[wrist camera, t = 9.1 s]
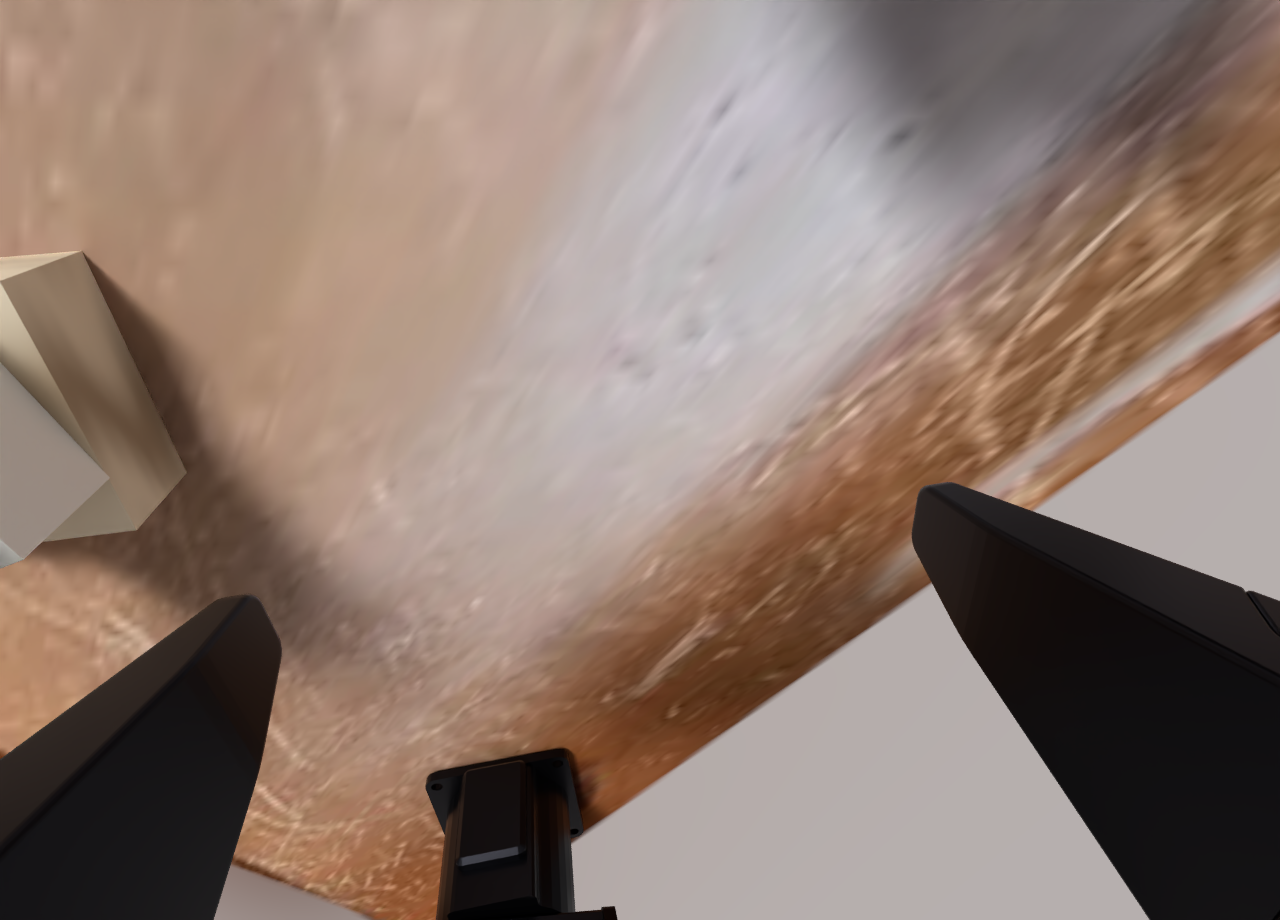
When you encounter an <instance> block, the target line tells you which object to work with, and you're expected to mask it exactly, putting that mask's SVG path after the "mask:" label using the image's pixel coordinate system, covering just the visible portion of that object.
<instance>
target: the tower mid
mask: <svg viewBox="0 0 1280 920" xmlns="http://www.w3.org/2000/svg"><path fill="white" fill-rule="evenodd" d="M109 478H110V477H109V476H108V475H107V474H106V473H105V472H104V471H103V470H102V469H101V468H100V467H99V466H98V465H97V464H96V463H95V462H94V460H93V459H92V458H91V457H90V456H89V455H88V454H87V453H86V452H85V451H84V450H83V449H82V448H81V447H80V446H79V445H78V444H77V443H76V441H75V440H74V439H73V438H72V437H71V436H70V435H69V434H68V433H67V432H66V431H65V430H64V429H63V428H62V427H61V426H60V425H59V424H58V423H57V421H56V420H55V419H54V418H53V417H52V416H51V415H50V414H49V413H48V412H47V411H46V410H45V409H44V408H43V407H42V406H41V405H40V404H39V402H38V401H37V400H36V399H35V398H34V397H33V396H32V395H31V394H30V393H29V392H28V391H27V390H26V389H25V388H24V387H23V386H22V385H21V384H20V382H19V381H18V380H17V379H16V378H15V377H14V376H13V375H12V374H11V373H10V372H9V371H8V370H7V369H6V368H5V367H4V366H3V365H2V363H1V362H0V568H3V567H6V566H8V565H11V564H13V563H16V562H19V561H21V560H24V559H25V558H26V557H27V556H28V555H29V554H30V553H31V552H32V551H33V550H34V549H35V548H36V547H37V546H38V545H39V544H41V543H42V542H43V541H44V540H45V539H46V538H47V537H48V536H49V535H50V534H51V533H52V532H53V531H54V530H55V529H56V528H57V527H59V526H60V525H61V524H62V523H63V522H64V521H65V520H66V519H67V518H68V517H69V516H70V515H71V514H72V513H73V512H74V511H76V510H77V509H78V508H79V507H80V506H81V505H82V504H83V503H84V502H85V501H86V500H87V499H88V498H89V497H90V496H91V495H92V494H94V493H95V492H96V491H97V490H98V489H99V488H100V487H101V486H102V485H103V484H104V483H105V482H106V481H107V480H108V479H109Z"/></svg>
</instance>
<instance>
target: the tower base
mask: <svg viewBox="0 0 1280 920" xmlns="http://www.w3.org/2000/svg"><path fill="white" fill-rule="evenodd" d="M0 362H1V363H2V365H3V366H4V367H5V368H6V369H7V370H8V371H9V372H10V373H11V374H12V375H13V376H14V377H15V378H16V379H17V380H18V381H19V382H20V384H21V385H22V386H23V387H24V388H25V389H26V390H27V391H28V392H29V393H30V394H31V395H32V396H33V397H34V398H35V399H36V400H37V401H38V402H39V404H40V405H41V406H42V407H43V408H44V409H45V410H46V411H47V412H48V413H49V414H50V415H51V416H52V417H53V418H54V419H55V420H56V421H57V423H58V424H59V425H60V426H61V427H62V428H63V429H64V430H65V431H66V432H67V433H68V434H69V435H70V436H71V437H72V438H73V439H74V440H75V441H76V443H77V444H78V445H79V446H80V447H81V448H82V449H83V450H84V451H85V452H86V453H87V454H88V455H89V456H90V457H91V458H92V459H93V460H94V462H95V463H96V464H97V465H98V466H99V467H100V468H101V469H102V470H103V471H104V472H105V473H106V474H107V475H108V476H109V477H110V478H109V479H108V480H107V481H106V482H105V483H104V484H103V485H102V486H101V487H100V488H99V489H98V490H97V491H96V492H95V493H94V494H92V495H91V496H90V497H89V498H88V499H87V500H86V501H85V502H84V503H83V504H82V505H81V506H80V507H79V508H78V509H77V510H76V511H74V512H73V513H72V514H71V515H70V516H69V517H68V518H67V519H66V520H65V521H64V522H63V523H62V524H61V525H60V526H59V527H57V528H56V529H55V530H54V531H53V532H52V533H51V534H50V535H49V536H48V537H47V538H46V539H45V540H44V541H43V542H47V541H55V540H63V539H71V538H79V537H87V536H95V535H102V534H110V533H118V532H126V531H134V530H137V529H138V528H139V527H140V526H141V525H142V524H143V523H144V521H145V520H146V519H147V518H148V517H149V516H150V515H151V513H152V512H153V511H154V510H155V509H156V508H157V507H158V505H159V504H160V503H161V502H162V501H163V500H164V499H165V497H166V496H167V495H168V494H169V493H170V492H171V491H172V489H173V488H174V487H175V486H176V485H177V484H178V483H179V481H180V480H181V479H182V478H183V477H184V476H185V475H186V473H187V472H186V470H185V468H184V466H183V463H182V461H181V459H180V457H179V455H178V453H177V451H176V449H175V447H174V444H173V442H172V440H171V438H170V436H169V434H168V432H167V430H166V428H165V426H164V423H163V421H162V419H161V417H160V415H159V413H158V411H157V409H156V407H155V404H154V402H153V400H152V398H151V396H150V394H149V392H148V390H147V388H146V385H145V383H144V381H143V379H142V377H141V375H140V373H139V371H138V369H137V366H136V364H135V362H134V360H133V358H132V356H131V354H130V352H129V350H128V348H127V345H126V343H125V341H124V339H123V337H122V335H121V333H120V331H119V329H118V326H117V324H116V322H115V320H114V318H113V316H112V314H111V312H110V310H109V307H108V305H107V303H106V301H105V299H104V297H103V295H102V293H101V291H100V289H99V286H98V284H97V282H96V280H95V278H94V276H93V274H92V272H91V270H90V267H89V265H88V263H87V261H86V259H85V257H84V255H83V253H82V251H74V252H61V253H49V254H37V255H25V256H12V257H0Z"/></svg>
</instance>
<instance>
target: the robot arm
mask: <svg viewBox="0 0 1280 920" xmlns="http://www.w3.org/2000/svg"><path fill="white" fill-rule="evenodd" d="M912 542H913V546H914V549H915V551H916V553H917V555H918V557H919V559H920V561H921V563H922V565H923V567H924V569H925V570H926V572H927V574H928V576H929V578H930V580H931V582H932V584H933V586H934V588H935V589H936V591H937V593H938V595H939V597H940V599H941V601H942V603H943V605H944V607H945V609H946V611H947V612H948V614H949V616H950V618H951V620H952V622H953V624H954V626H955V627H956V629H957V631H958V633H959V634H960V636H961V638H962V640H963V641H964V643H965V644H966V646H967V648H968V649H969V651H970V652H971V654H972V655H973V657H974V658H975V660H976V661H977V663H978V664H979V666H980V667H981V669H982V670H983V672H984V673H985V675H986V676H987V678H988V679H989V681H990V682H991V683H992V685H993V687H994V688H995V690H996V691H997V693H998V694H999V696H1000V697H1001V699H1002V700H1003V702H1004V703H1005V705H1006V706H1007V707H1008V709H1009V710H1010V712H1011V713H1012V715H1013V717H1014V718H1015V720H1016V721H1017V723H1018V724H1019V725H1020V727H1021V728H1022V730H1023V731H1024V733H1025V734H1026V736H1027V737H1028V739H1029V740H1030V742H1031V743H1032V745H1033V746H1034V748H1035V749H1036V751H1037V752H1038V754H1039V755H1040V757H1041V758H1042V760H1043V761H1044V763H1045V764H1046V766H1047V767H1048V769H1049V770H1050V772H1051V773H1052V775H1053V776H1054V778H1055V779H1056V781H1057V782H1058V784H1059V785H1060V787H1061V788H1062V790H1063V791H1064V793H1065V794H1066V796H1067V797H1068V799H1069V800H1070V802H1071V803H1072V805H1073V806H1074V808H1075V809H1076V811H1077V812H1078V814H1079V815H1080V816H1081V818H1082V819H1083V821H1084V822H1085V824H1086V826H1087V827H1088V828H1089V830H1090V831H1091V833H1092V834H1093V836H1094V837H1095V839H1096V840H1097V842H1098V843H1099V845H1100V846H1101V848H1102V849H1103V851H1104V852H1105V854H1106V855H1107V857H1108V858H1109V860H1110V861H1111V863H1112V864H1113V866H1114V867H1115V869H1116V870H1117V872H1118V873H1119V875H1120V876H1121V878H1122V879H1123V881H1124V882H1125V883H1126V885H1127V887H1128V888H1129V890H1130V891H1131V893H1132V894H1133V896H1134V897H1135V899H1136V900H1137V902H1138V903H1139V905H1140V906H1141V907H1142V909H1143V911H1144V912H1145V914H1146V915H1147V917H1148V918H1149V920H1280V601H1278V600H1276V599H1273V598H1270V597H1267V596H1265V595H1262V594H1259V593H1256V592H1254V591H1247V592H1245V590H1244V589H1243V588H1242V587H1239V586H1237V585H1234V584H1231V583H1228V582H1226V581H1223V580H1220V579H1217V578H1214V577H1212V576H1209V575H1206V574H1204V573H1201V572H1198V571H1195V570H1192V569H1190V568H1187V567H1184V566H1181V565H1179V564H1176V563H1173V562H1171V561H1167V560H1165V559H1162V558H1160V557H1157V556H1154V555H1151V554H1149V553H1146V552H1143V551H1140V550H1138V549H1135V548H1132V547H1129V546H1126V545H1124V544H1121V543H1118V542H1116V541H1113V540H1110V539H1107V538H1105V537H1102V536H1099V535H1096V534H1093V533H1091V532H1088V531H1085V530H1082V529H1080V528H1077V527H1074V526H1072V525H1069V524H1066V523H1063V522H1061V521H1058V520H1055V519H1052V518H1050V517H1047V516H1044V515H1041V514H1039V513H1036V512H1033V511H1030V510H1028V509H1025V508H1022V507H1019V506H1017V505H1014V504H1011V503H1008V502H1006V501H1003V500H1000V499H997V498H995V497H992V496H989V495H986V494H984V493H981V492H978V491H975V490H973V489H970V488H967V487H964V486H961V485H959V484H956V483H953V482H945V483H939V484H932V485H926V486H924V487H923V488H921V490H920V491H919V493H918V497H917V503H916V509H915V515H914V521H913V528H912ZM281 657H282V648H281V642H280V639H279V636H278V634H277V632H276V630H275V628H274V626H273V624H272V622H271V620H270V618H269V616H268V614H267V612H266V610H265V608H264V606H263V604H262V603H261V601H260V600H259V598H258V597H256V596H255V595H252V594H244V595H237V596H231V597H225V598H221V599H218V600H216V601H214V602H213V603H212V604H210V605H209V606H208V607H206V608H205V609H204V610H202V611H201V612H199V613H198V614H197V615H195V616H194V617H193V618H191V619H190V620H189V621H187V622H186V623H185V624H183V625H182V626H180V627H179V628H178V629H176V630H175V631H174V632H172V633H171V634H170V635H168V636H167V637H166V638H164V639H163V640H161V641H160V642H159V643H157V644H156V645H155V646H153V647H152V648H151V649H149V650H148V651H147V652H145V653H144V654H142V655H141V656H140V657H138V658H137V659H136V660H134V661H133V662H132V663H130V664H129V665H128V666H126V667H125V668H123V669H122V670H121V671H119V672H118V673H117V674H115V675H114V676H113V677H111V678H110V679H109V680H107V681H106V682H104V683H103V684H102V685H100V686H99V687H98V688H96V689H95V690H94V691H92V692H91V693H90V694H88V695H87V696H85V697H84V698H83V699H81V700H80V701H79V702H77V703H76V704H75V705H73V706H72V707H71V708H69V709H68V710H66V711H65V712H64V713H62V714H61V715H60V716H58V717H57V718H56V719H54V720H53V721H52V722H50V723H49V724H47V725H46V726H45V727H43V728H42V729H41V730H39V731H38V732H37V733H35V734H34V735H33V736H31V737H30V738H28V739H27V740H26V741H24V742H23V743H22V744H20V745H19V746H18V747H16V748H15V749H14V750H12V751H11V752H9V753H8V754H7V755H5V756H4V757H3V758H1V759H0V920H214V917H215V913H216V910H217V907H218V904H219V900H220V897H221V894H222V891H223V887H224V884H225V881H226V878H227V874H228V871H229V868H230V865H231V862H232V858H233V855H234V852H235V849H236V845H237V842H238V839H239V836H240V832H241V829H242V826H243V823H244V819H245V816H246V813H247V810H248V807H249V803H250V800H251V797H252V794H253V790H254V787H255V784H256V780H257V776H258V773H259V769H260V765H261V761H262V756H263V752H264V747H265V742H266V736H267V731H268V726H269V721H270V715H271V710H272V705H273V700H274V694H275V689H276V684H277V679H278V673H279V668H280V663H281ZM426 791H427V793H428V796H429V798H430V801H431V803H432V805H433V808H434V810H435V813H436V815H437V817H438V820H439V822H440V825H441V827H442V830H443V832H444V834H445V840H444V849H443V858H442V868H441V877H440V887H439V896H438V905H437V915H436V920H617V915H616V910H615V907H614V906H610V907H602V908H601V910H593V911H581V912H575V900H574V885H573V868H572V851H571V838H574V837H577V836H580V835H581V834H582V833H583V830H584V829H583V820H582V816H581V811H580V807H579V802H578V797H577V793H576V788H575V784H574V779H573V775H572V770H571V766H570V761H569V756H568V753H567V752H566V751H565V750H561V749H556V750H551V751H545V752H540V753H535V754H529V755H524V756H519V757H514V758H508V759H503V760H498V761H492V762H487V763H482V764H477V765H471V766H466V767H461V768H455V769H450V770H445V771H440V772H435V773H432V774H430V775H429V776H428V777H427V780H426Z"/></svg>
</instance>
